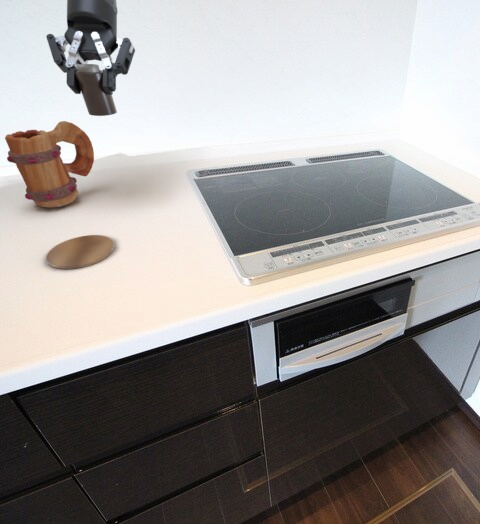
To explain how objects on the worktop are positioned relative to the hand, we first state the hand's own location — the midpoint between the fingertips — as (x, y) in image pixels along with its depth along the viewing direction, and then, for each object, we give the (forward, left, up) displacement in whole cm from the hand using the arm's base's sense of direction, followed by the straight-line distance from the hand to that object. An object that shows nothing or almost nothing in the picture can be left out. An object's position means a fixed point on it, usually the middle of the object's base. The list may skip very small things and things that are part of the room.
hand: (91, 91), depth 65 cm
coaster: (-9, -17, -22) cm, 29 cm away
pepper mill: (+1, +2, -4) cm, 5 cm away
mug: (-10, +7, -22) cm, 25 cm away
